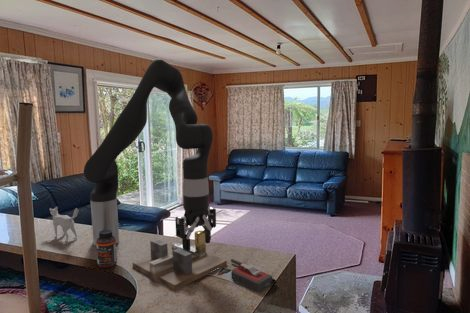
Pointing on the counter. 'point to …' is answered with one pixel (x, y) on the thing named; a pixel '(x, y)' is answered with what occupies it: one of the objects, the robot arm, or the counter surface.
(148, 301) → the counter surface
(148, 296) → the counter surface
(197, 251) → the swing bar
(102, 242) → the supplement bottle
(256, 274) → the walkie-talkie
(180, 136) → the robot arm
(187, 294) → the counter surface
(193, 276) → the lock base
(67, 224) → the cat figurine
